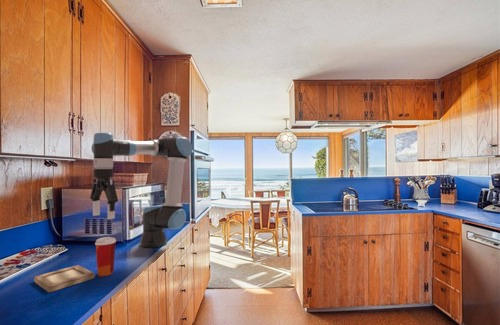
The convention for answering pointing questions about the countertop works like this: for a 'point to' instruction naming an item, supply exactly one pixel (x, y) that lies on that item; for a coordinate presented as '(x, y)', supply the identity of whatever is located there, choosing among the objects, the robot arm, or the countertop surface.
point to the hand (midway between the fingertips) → (103, 217)
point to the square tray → (63, 278)
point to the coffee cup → (105, 255)
